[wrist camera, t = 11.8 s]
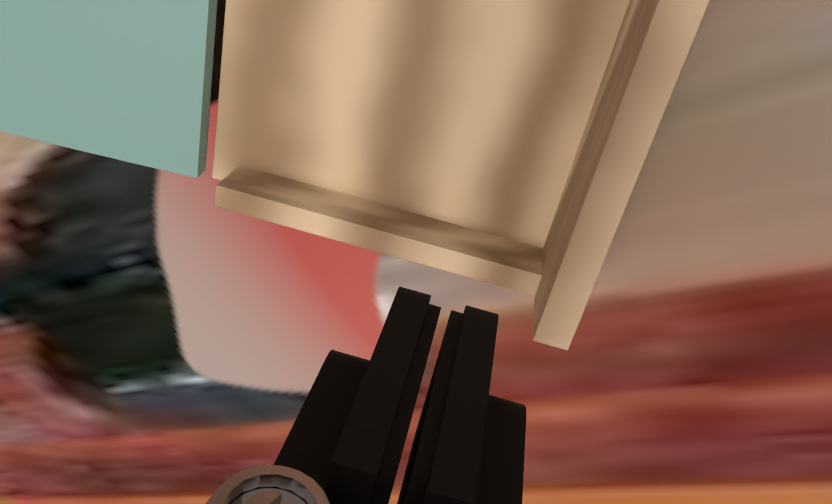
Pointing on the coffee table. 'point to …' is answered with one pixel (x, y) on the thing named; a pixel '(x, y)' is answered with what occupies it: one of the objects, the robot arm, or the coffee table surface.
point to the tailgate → (111, 77)
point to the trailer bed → (451, 129)
